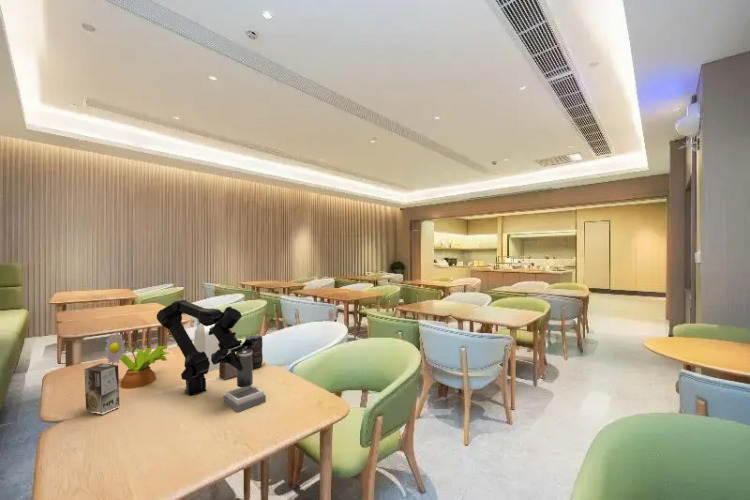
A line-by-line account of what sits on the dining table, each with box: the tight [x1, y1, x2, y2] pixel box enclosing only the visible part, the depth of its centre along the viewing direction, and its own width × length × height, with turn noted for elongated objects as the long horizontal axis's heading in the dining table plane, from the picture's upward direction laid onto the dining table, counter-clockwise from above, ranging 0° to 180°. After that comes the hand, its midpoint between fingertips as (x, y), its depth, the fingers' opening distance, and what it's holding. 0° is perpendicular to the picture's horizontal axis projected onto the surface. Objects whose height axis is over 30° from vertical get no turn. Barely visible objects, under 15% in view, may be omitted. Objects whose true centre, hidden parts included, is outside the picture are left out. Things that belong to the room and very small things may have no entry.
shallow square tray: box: [223, 384, 267, 413], centre depth 131 cm, size 11×12×4 cm
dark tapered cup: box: [235, 348, 254, 388], centre depth 131 cm, size 6×6×13 cm
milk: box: [193, 322, 220, 373], centre depth 170 cm, size 12×12×26 cm
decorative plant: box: [104, 330, 170, 390], centre depth 152 cm, size 27×24×25 cm
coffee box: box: [84, 362, 120, 413], centre depth 126 cm, size 9×6×16 cm
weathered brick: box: [218, 363, 254, 380], centre depth 159 cm, size 14×8×10 cm, turn 139°
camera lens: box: [244, 334, 264, 370], centre depth 169 cm, size 8×8×15 cm
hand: (247, 367), depth 130 cm, fingers closed on dark tapered cup, 6 cm apart
